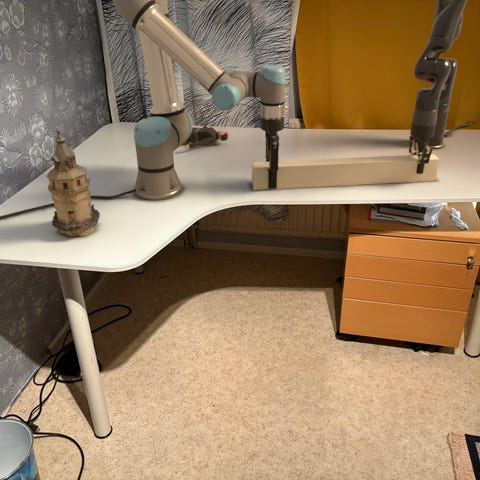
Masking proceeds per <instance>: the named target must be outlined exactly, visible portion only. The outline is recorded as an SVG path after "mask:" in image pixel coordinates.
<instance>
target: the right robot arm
mask: <svg viewBox="0 0 480 480" xmlns="http://www.w3.org/2000/svg"><path fill="white" fill-rule="evenodd" d="M467 3H468V0H437V1H436V6H435V11H434V17H433V23H432V27H431V31H430V35H429V37H428V41H427V43H426V45H425V47H424V49H423V50H422V53H421V55H420V56H419V57H418V59H417V61H416V63H415V64H414V67H413V68H414V69H413V75H414V78H415V79H416V80H418V81H421V82H422V81H423V82H426V83H428V84H432V85H433V86H431V87H422V88H419V89H418V90H417V92H416V97H415V104H414V108H413V112H412V117H411V124H410V125H411V126H410V131H409V134H410V135H409V140H408V141H409V143H408V154H410V155H416V156H417V157H418V164H417V170H416V173H417V174H423V171H424V165H425V164H428V163H429V160H430V156H431V154H433V149H439V148H442V147H443V146H444V139H445V137H448V136H450V134H451V133H452V132H454V131H455V130H457V129H460V128H466V127H469V126H471V125H472V123H474V120H473V119H470V120H471V121H470V120H469V122H468V123H464V124H460V125H456V126H454V127H453V128H451V129H450V130H448V131H447V132H446V128H447V123H448V122H447V120H448V116H449V111H450V105H451V100H452V92H453V88H454V83H455V79H456V75H457V71H458V61H457V59H455V58H449V57H448V58H447V57H440V56H441V55H442V54H444V53H447V52H449V51H450V50H451V48H452V45H453V43H454V42H455V41H456V40H457V39H458V37H459V36H460V34H461V31H462V27H463V26H462V25H463V20H464V9H465V7H466V5H467ZM472 120H473V121H472ZM421 156H422V157H421ZM426 158H427V159H426Z"/></svg>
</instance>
